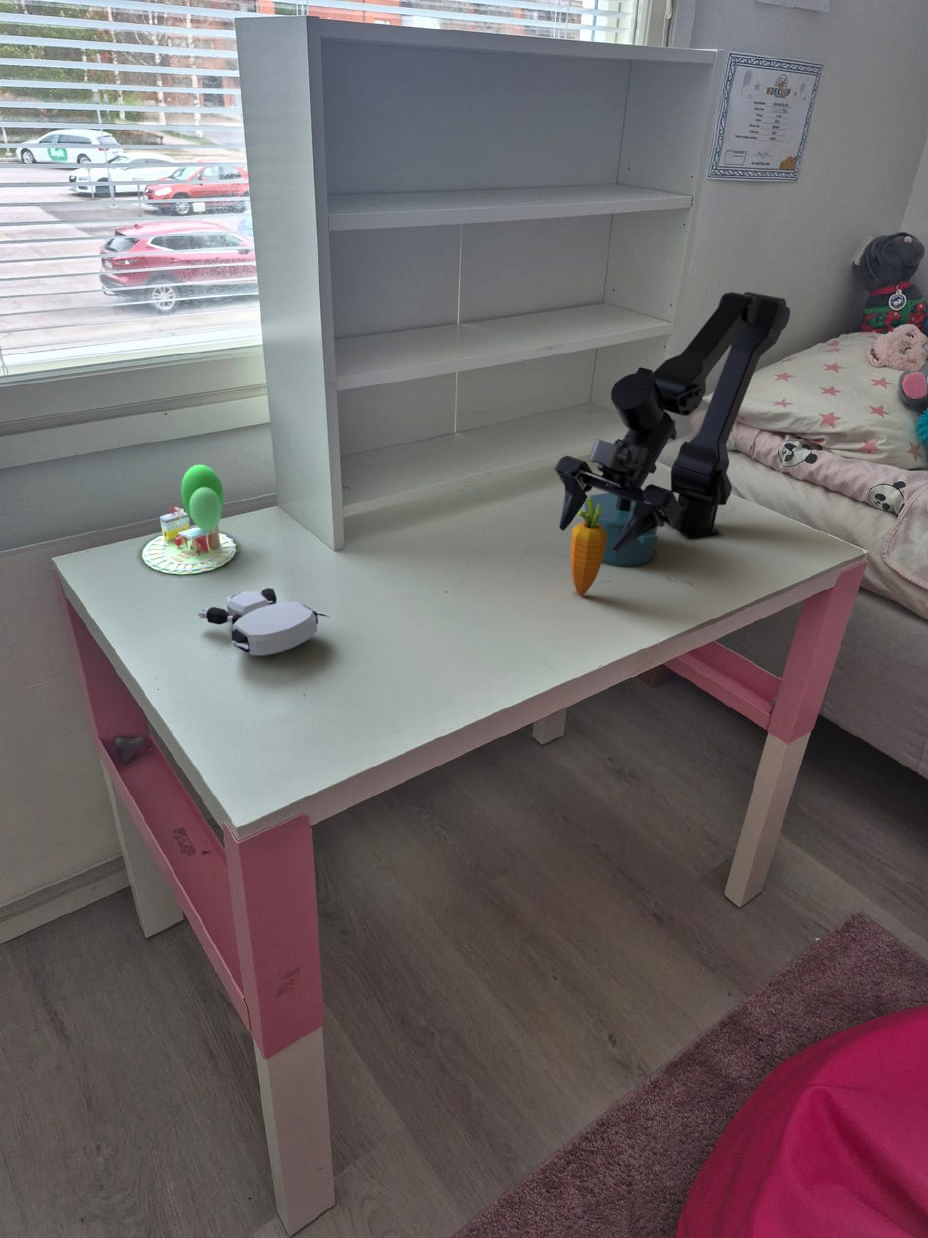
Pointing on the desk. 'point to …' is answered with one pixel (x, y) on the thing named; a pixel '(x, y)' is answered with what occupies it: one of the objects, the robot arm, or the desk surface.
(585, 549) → the carrot
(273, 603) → the robot toy
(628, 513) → the pot lid
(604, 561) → the pot
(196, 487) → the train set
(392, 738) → the desk surface
